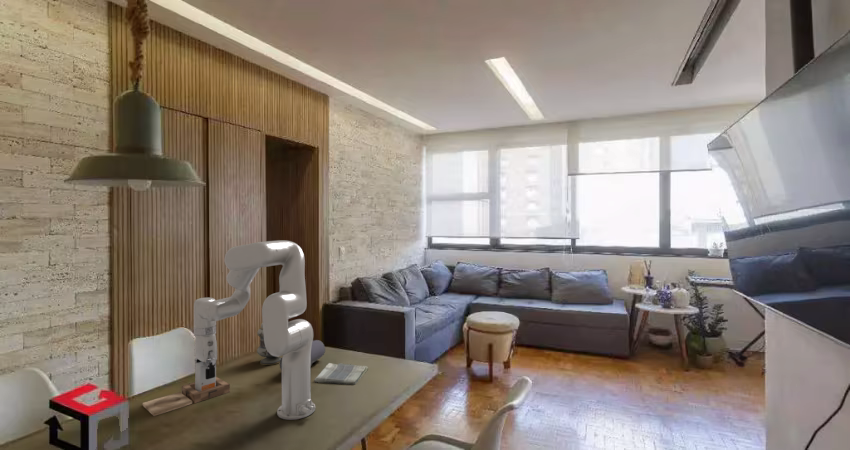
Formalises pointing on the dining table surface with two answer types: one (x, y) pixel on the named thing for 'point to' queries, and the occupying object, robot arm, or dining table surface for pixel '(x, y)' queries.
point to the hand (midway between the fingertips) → (205, 374)
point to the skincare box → (203, 377)
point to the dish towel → (341, 374)
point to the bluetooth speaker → (314, 351)
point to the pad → (167, 403)
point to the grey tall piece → (265, 351)
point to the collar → (205, 391)
